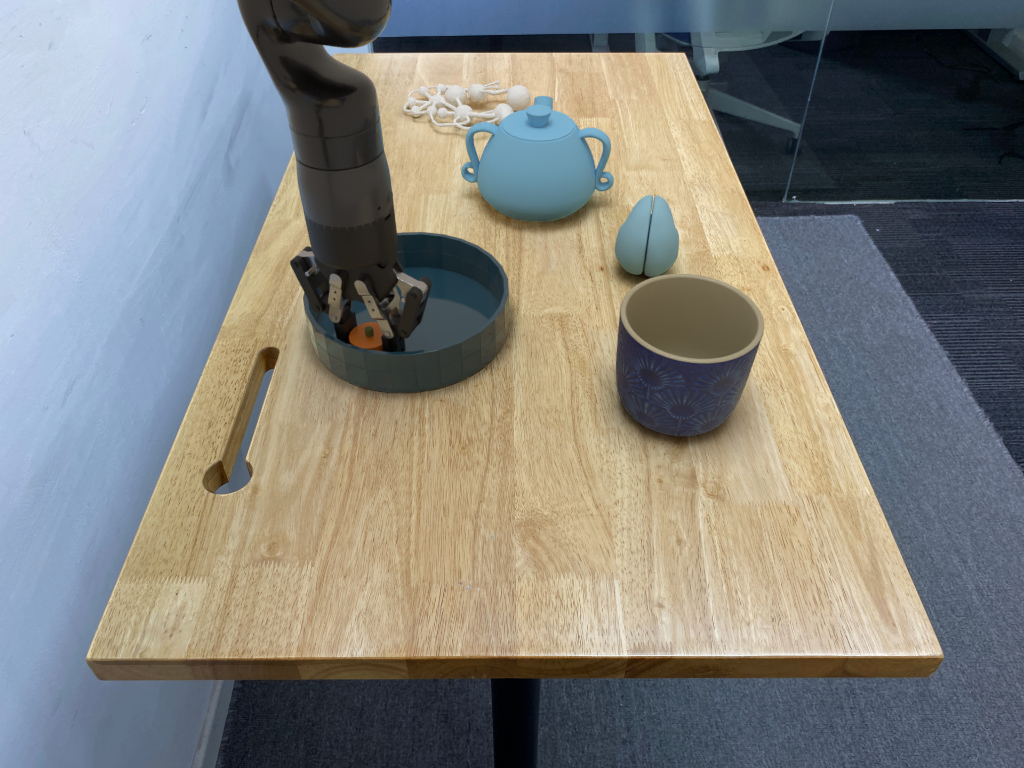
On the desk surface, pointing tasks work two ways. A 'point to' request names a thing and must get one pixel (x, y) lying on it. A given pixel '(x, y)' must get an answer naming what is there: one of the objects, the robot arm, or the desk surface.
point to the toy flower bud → (648, 238)
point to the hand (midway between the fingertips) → (372, 352)
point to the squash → (367, 336)
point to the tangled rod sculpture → (457, 96)
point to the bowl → (428, 320)
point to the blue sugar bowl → (537, 164)
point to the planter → (685, 352)
